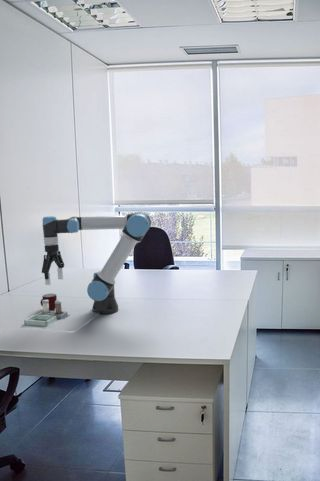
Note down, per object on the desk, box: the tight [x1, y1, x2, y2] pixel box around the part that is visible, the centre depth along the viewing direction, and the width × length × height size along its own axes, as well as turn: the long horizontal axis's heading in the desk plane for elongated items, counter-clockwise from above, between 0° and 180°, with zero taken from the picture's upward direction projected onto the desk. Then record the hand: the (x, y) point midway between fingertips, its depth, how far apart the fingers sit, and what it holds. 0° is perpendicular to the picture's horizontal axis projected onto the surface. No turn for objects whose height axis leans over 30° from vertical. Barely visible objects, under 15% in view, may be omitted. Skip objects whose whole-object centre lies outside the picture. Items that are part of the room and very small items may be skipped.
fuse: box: [41, 299, 49, 314], centre depth 269 cm, size 4×4×9 cm
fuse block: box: [37, 310, 71, 320], centre depth 268 cm, size 18×8×3 cm, turn 73°
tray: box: [23, 314, 58, 327], centre depth 258 cm, size 14×11×3 cm
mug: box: [40, 293, 58, 311], centre depth 281 cm, size 11×8×10 cm
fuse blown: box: [55, 299, 62, 315], centre depth 266 cm, size 4×4×9 cm
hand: (54, 282), depth 265 cm, fingers open, 13 cm apart
